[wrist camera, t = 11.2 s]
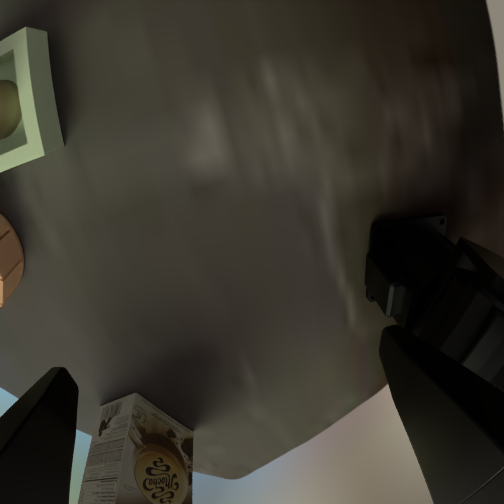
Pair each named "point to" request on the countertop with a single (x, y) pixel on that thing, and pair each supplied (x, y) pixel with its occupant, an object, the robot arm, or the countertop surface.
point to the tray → (30, 98)
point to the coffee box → (137, 456)
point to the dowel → (9, 108)
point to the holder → (9, 260)
